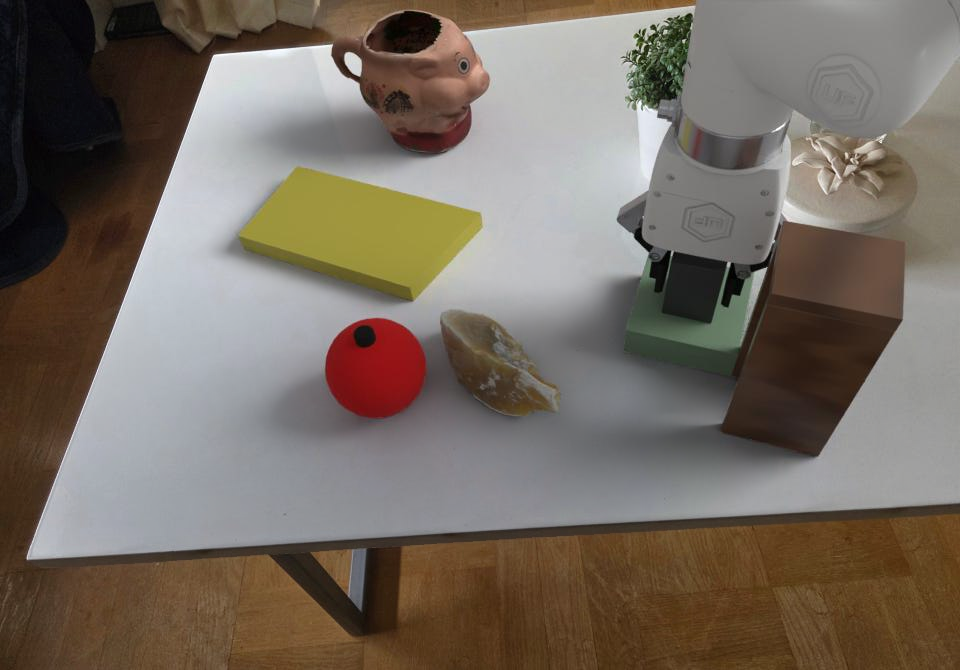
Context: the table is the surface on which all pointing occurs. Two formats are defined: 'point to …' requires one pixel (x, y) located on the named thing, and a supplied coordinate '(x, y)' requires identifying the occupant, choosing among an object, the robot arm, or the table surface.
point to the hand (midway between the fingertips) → (693, 287)
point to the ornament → (375, 368)
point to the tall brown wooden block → (814, 334)
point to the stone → (494, 365)
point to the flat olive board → (360, 232)
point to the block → (693, 286)
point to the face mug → (417, 77)
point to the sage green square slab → (686, 329)
